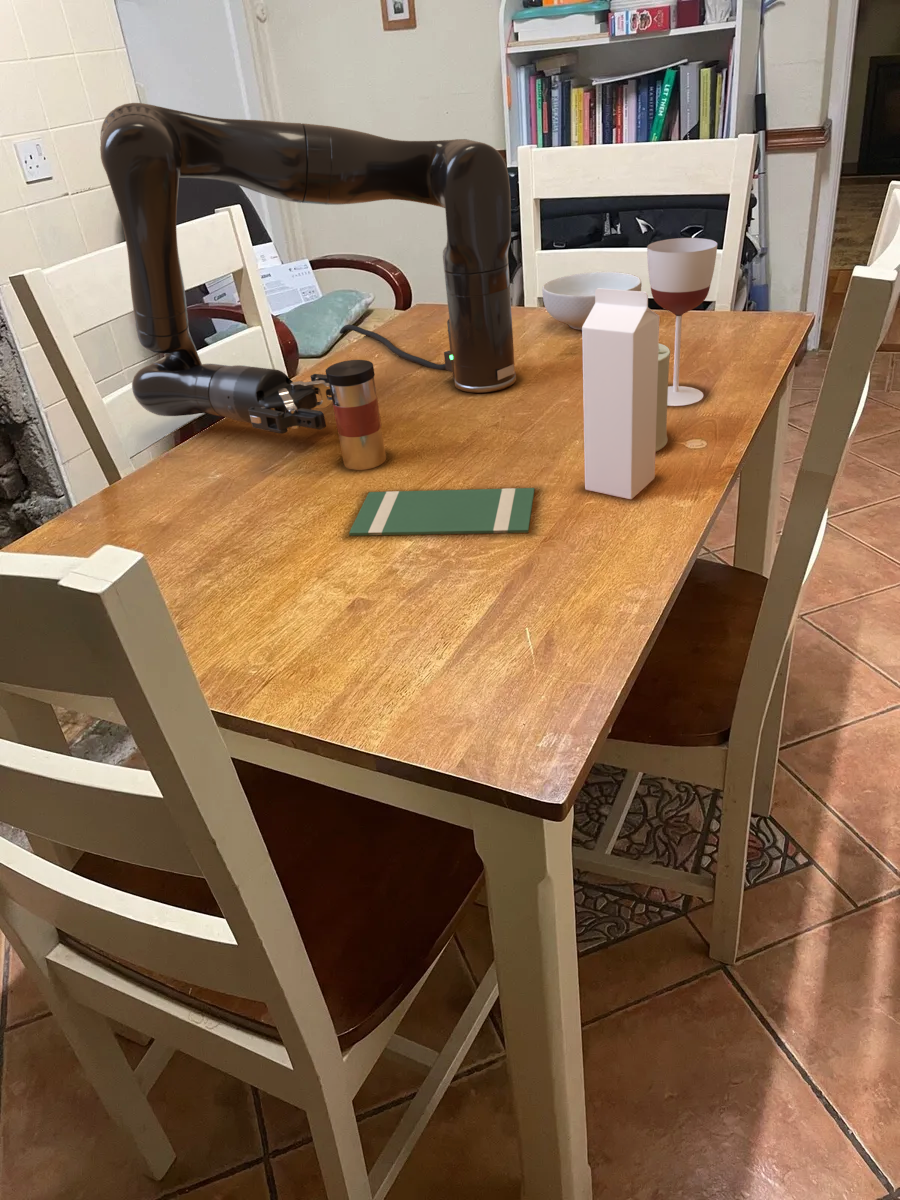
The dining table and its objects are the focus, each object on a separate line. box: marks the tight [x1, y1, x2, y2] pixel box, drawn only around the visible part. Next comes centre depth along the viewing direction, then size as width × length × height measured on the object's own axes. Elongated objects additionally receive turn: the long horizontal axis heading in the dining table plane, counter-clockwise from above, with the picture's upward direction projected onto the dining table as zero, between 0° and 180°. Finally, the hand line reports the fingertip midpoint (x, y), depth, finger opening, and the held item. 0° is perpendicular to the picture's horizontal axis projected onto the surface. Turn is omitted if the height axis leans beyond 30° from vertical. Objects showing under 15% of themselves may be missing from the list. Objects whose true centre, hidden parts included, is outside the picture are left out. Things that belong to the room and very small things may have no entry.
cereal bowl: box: [541, 271, 642, 331], centre depth 152 cm, size 17×17×7 cm
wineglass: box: [646, 237, 718, 407], centre depth 116 cm, size 8×9×20 cm
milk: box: [581, 288, 660, 500], centre depth 95 cm, size 6×6×22 cm
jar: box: [325, 359, 387, 471], centre depth 111 cm, size 6×6×12 cm
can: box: [655, 342, 671, 453], centre depth 107 cm, size 9×9×12 cm
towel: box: [348, 487, 536, 537], centre depth 99 cm, size 10×20×1 cm, turn 81°
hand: (344, 408), depth 111 cm, fingers open, 8 cm apart
